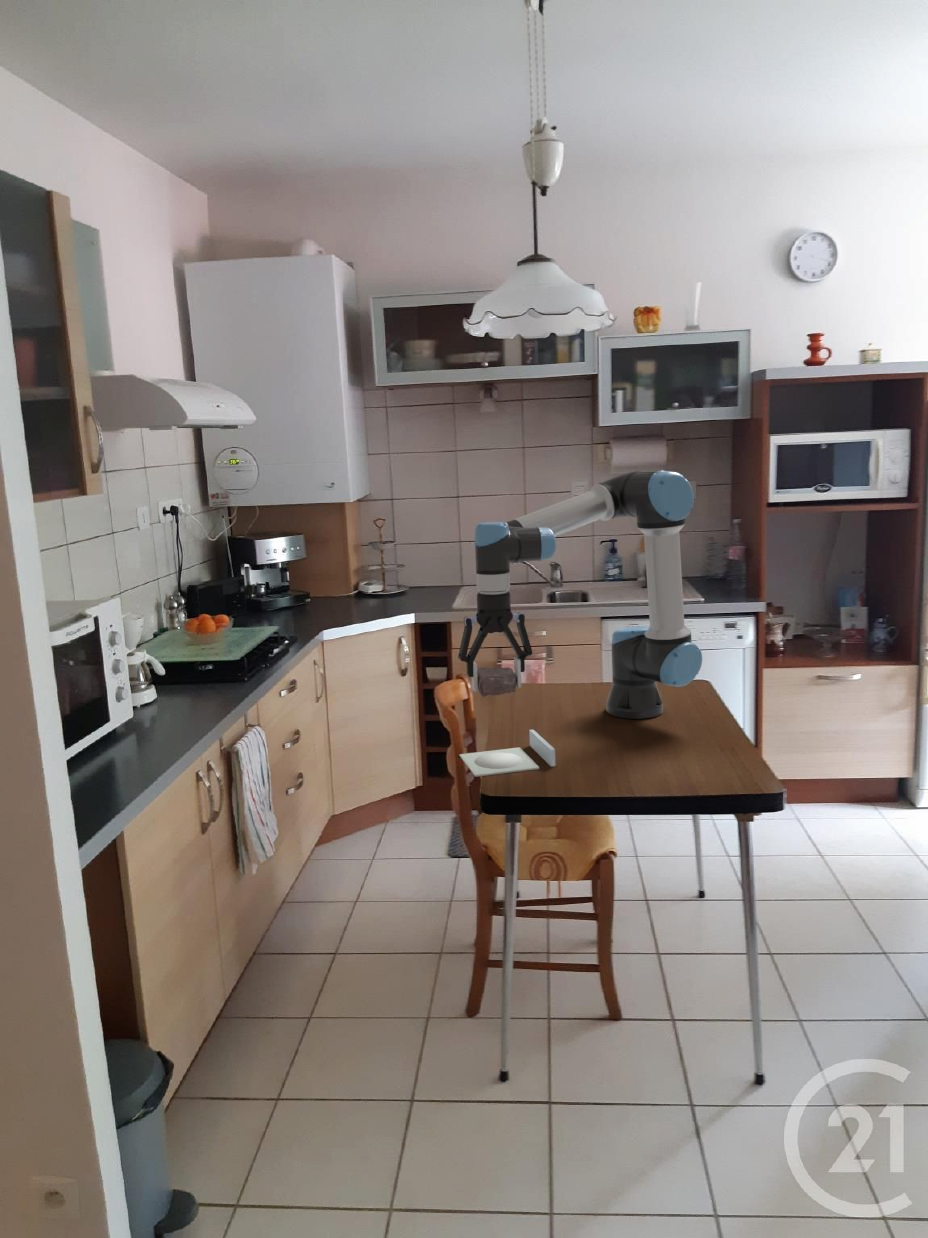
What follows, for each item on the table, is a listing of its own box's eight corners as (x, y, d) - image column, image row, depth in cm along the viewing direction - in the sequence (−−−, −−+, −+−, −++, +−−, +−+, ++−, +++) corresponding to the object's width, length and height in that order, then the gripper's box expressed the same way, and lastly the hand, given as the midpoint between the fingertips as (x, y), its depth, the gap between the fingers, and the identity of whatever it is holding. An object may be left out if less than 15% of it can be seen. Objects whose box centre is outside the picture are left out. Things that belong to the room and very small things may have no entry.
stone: (518, 696, 206) (517, 675, 205) (477, 698, 206) (476, 678, 205) (514, 682, 218) (513, 663, 217) (476, 685, 217) (475, 665, 217)
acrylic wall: (533, 745, 226) (533, 729, 225) (555, 766, 210) (555, 749, 210) (529, 745, 225) (529, 730, 225) (551, 766, 210) (550, 749, 209)
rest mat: (519, 749, 223) (519, 747, 223) (539, 768, 209) (539, 766, 209) (459, 756, 220) (459, 754, 220) (475, 776, 206) (475, 774, 205)
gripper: (535, 585, 213) (537, 679, 217) (441, 592, 208) (445, 688, 212) (545, 590, 206) (547, 687, 210) (448, 597, 201) (452, 697, 205)
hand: (496, 688), depth 211 cm, fingers closed on stone, 9 cm apart
